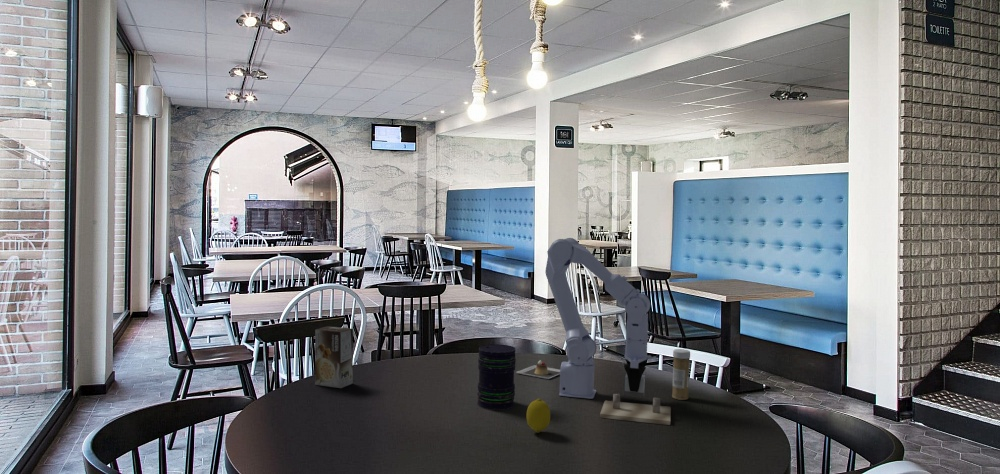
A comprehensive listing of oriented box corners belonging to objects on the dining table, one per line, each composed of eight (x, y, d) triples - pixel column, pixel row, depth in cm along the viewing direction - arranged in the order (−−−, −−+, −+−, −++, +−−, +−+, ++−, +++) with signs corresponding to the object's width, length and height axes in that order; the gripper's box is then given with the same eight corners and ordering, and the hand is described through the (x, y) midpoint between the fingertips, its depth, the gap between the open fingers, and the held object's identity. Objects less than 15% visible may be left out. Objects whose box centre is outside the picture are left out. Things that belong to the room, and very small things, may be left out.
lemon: (524, 428, 154) (525, 395, 153) (547, 428, 154) (548, 395, 154) (527, 437, 148) (528, 402, 148) (551, 437, 149) (552, 402, 148)
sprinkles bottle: (692, 399, 182) (693, 351, 181) (680, 401, 179) (682, 352, 179) (679, 394, 186) (680, 347, 185) (668, 397, 183) (669, 349, 183)
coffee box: (353, 383, 189) (354, 328, 188) (340, 389, 183) (341, 332, 182) (327, 379, 192) (328, 325, 192) (313, 384, 187) (314, 329, 186)
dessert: (567, 374, 208) (567, 359, 208) (549, 382, 198) (549, 366, 198) (534, 368, 215) (534, 353, 215) (515, 375, 205) (515, 360, 205)
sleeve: (624, 395, 176) (625, 376, 176) (625, 390, 181) (626, 372, 181) (643, 397, 175) (644, 378, 174) (644, 392, 180) (645, 374, 179)
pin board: (599, 417, 163) (600, 399, 163) (604, 404, 175) (605, 387, 175) (670, 425, 159) (670, 406, 159) (670, 410, 171) (671, 393, 170)
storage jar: (520, 402, 175) (522, 346, 174) (505, 412, 166) (506, 353, 165) (487, 396, 179) (488, 342, 178) (470, 406, 170) (471, 349, 169)
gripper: (650, 345, 169) (648, 397, 170) (652, 335, 183) (650, 383, 184) (623, 343, 171) (621, 394, 171) (627, 333, 185) (625, 380, 185)
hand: (634, 388), depth 178 cm, fingers closed on sleeve, 5 cm apart
